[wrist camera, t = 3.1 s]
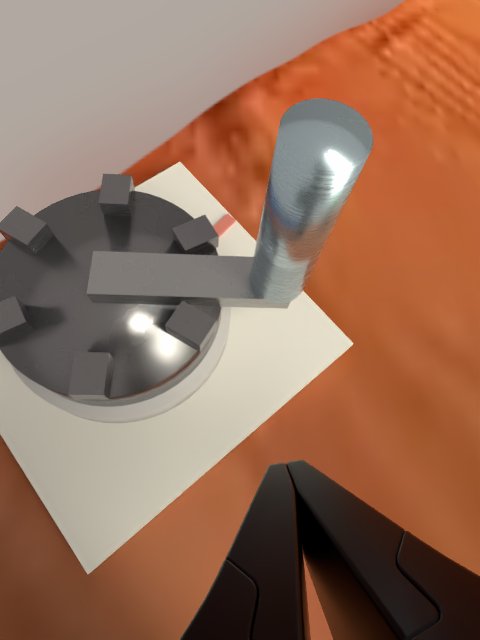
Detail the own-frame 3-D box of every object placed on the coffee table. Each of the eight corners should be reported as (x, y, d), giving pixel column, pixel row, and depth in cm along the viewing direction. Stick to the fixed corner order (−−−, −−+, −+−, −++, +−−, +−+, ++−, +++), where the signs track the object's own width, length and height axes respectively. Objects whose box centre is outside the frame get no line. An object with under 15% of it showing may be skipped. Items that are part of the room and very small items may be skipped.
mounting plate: (348, 348, 25) (365, 332, 22) (93, 570, 20) (74, 584, 17) (180, 171, 29) (177, 138, 26) (-67, 315, 24) (-103, 293, 21)
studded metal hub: (-13, 407, 19) (-315, 306, 8) (32, 211, 23) (-126, -32, 12) (296, 411, 20) (402, 325, 9) (287, 222, 24) (351, 6, 13)
